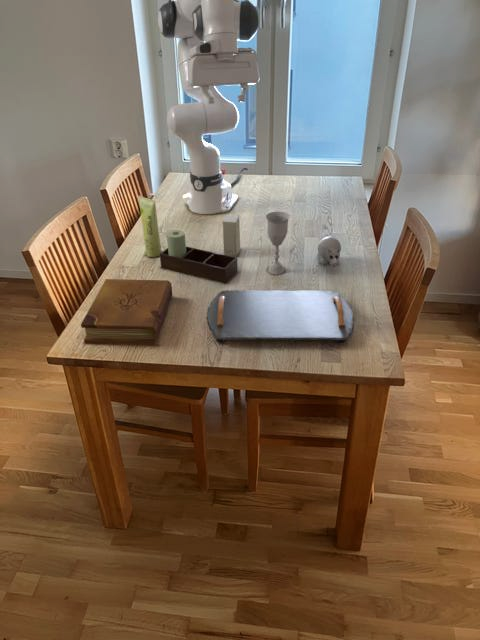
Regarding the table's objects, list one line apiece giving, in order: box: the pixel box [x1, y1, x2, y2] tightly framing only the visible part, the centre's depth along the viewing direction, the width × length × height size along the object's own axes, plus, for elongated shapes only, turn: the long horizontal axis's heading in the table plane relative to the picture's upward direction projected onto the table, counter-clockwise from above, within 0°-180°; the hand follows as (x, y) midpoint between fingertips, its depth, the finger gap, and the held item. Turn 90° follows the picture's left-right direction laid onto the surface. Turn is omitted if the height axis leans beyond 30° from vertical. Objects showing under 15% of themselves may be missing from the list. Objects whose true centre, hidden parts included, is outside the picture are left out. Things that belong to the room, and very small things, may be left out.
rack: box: [159, 245, 238, 285], centre depth 162 cm, size 8×23×5 cm, turn 64°
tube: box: [138, 195, 162, 258], centre depth 167 cm, size 6×5×20 cm
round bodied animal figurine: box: [316, 236, 342, 268], centre depth 163 cm, size 7×12×8 cm, turn 3°
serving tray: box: [205, 289, 355, 345], centre depth 138 cm, size 39×23×6 cm, turn 89°
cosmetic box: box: [222, 213, 241, 258], centre depth 170 cm, size 6×4×12 cm
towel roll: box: [166, 229, 187, 258], centre depth 163 cm, size 6×6×11 cm
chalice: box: [265, 211, 291, 275], centre depth 158 cm, size 7×7×18 cm
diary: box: [80, 278, 173, 346], centre depth 140 cm, size 23×19×6 cm
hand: (226, 103), depth 147 cm, fingers open, 8 cm apart
